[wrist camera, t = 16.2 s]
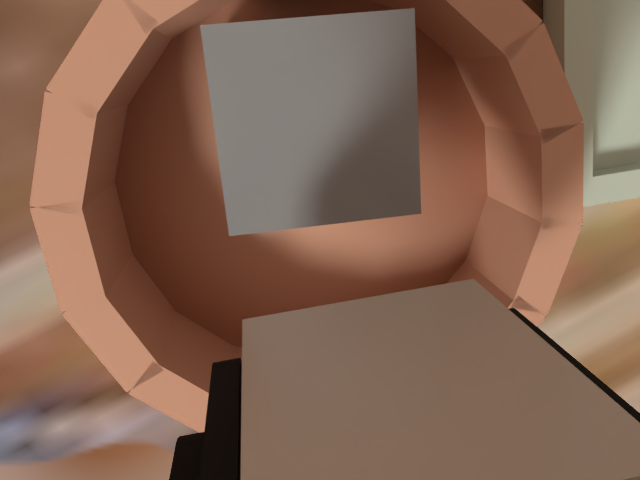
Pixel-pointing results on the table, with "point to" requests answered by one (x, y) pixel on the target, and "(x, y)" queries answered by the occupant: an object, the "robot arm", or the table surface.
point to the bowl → (300, 243)
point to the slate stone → (315, 118)
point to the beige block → (422, 395)
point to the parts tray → (602, 89)
